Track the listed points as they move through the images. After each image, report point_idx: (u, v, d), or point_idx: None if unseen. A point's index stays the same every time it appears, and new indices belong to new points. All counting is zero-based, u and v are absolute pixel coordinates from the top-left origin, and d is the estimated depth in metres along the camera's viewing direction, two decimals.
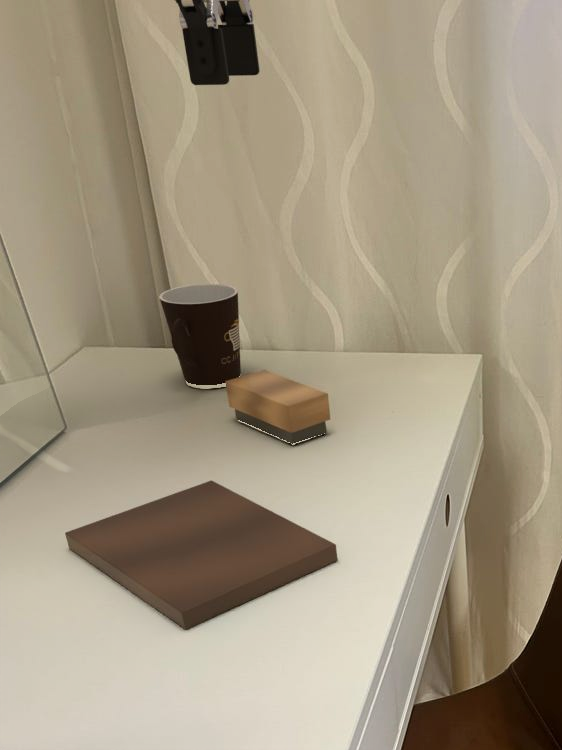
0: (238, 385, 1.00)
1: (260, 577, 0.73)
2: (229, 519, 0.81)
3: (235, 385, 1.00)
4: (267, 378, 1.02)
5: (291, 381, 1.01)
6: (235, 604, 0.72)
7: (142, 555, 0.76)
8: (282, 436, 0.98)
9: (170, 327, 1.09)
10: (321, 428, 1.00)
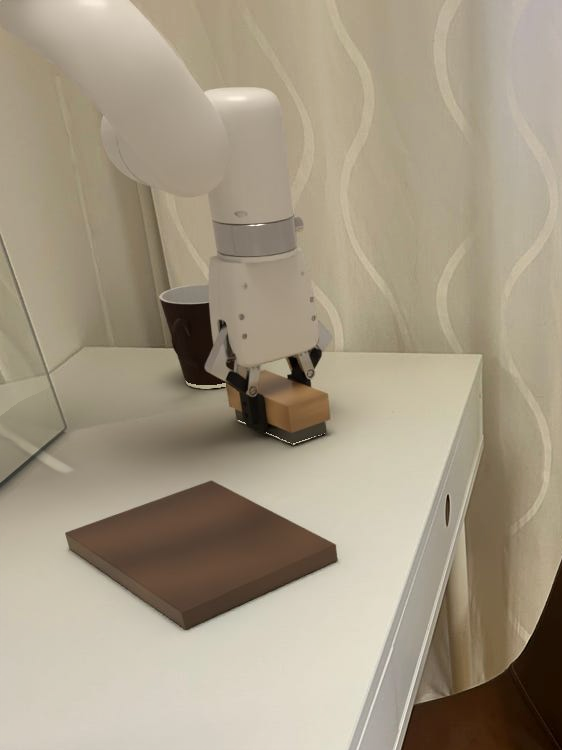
0: None
1: (260, 577, 0.73)
2: (229, 519, 0.81)
3: None
4: (267, 378, 1.02)
5: (291, 381, 1.01)
6: (235, 604, 0.72)
7: (142, 555, 0.76)
8: (282, 436, 0.98)
9: (170, 327, 1.09)
10: (321, 428, 1.00)
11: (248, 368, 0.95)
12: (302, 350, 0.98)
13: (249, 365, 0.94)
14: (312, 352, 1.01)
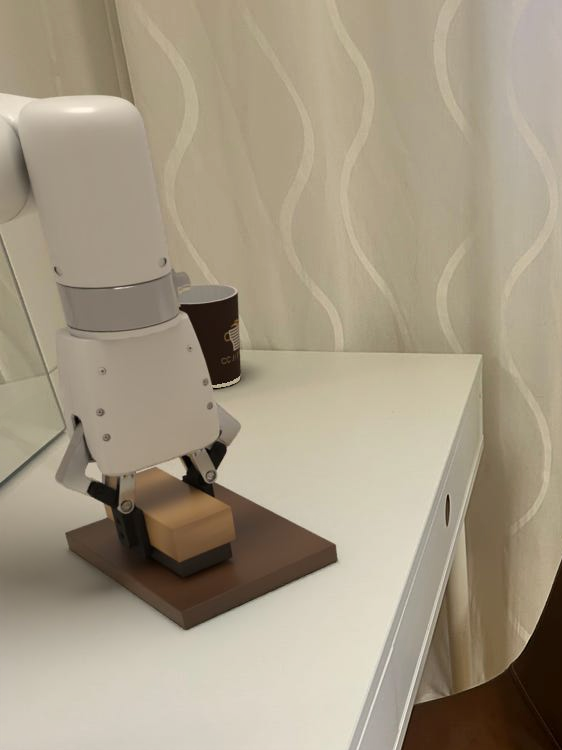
0: None
1: (260, 577, 0.73)
2: None
3: None
4: (155, 481, 0.77)
5: (186, 486, 0.76)
6: (235, 604, 0.72)
7: None
8: (170, 563, 0.73)
9: None
10: (224, 551, 0.74)
11: (118, 477, 0.70)
12: (196, 448, 0.73)
13: (117, 474, 0.69)
14: (212, 447, 0.75)
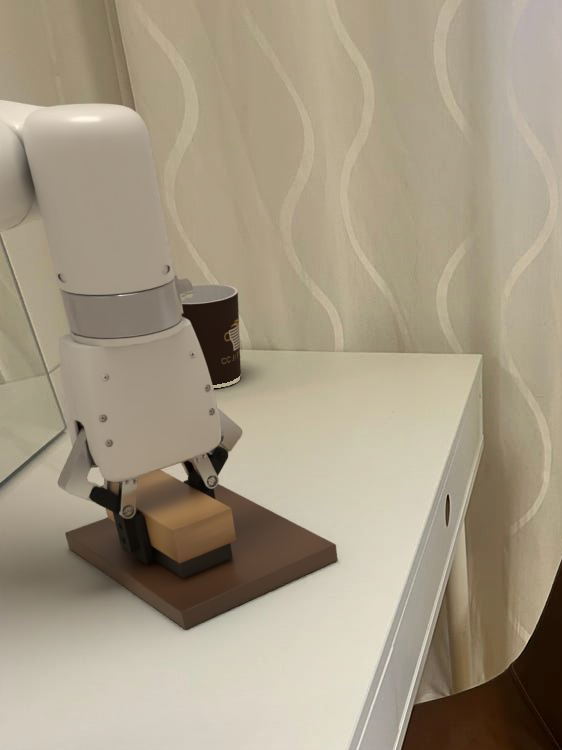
0: None
1: (260, 577, 0.73)
2: None
3: None
4: (156, 481, 0.77)
5: (187, 487, 0.76)
6: (235, 604, 0.72)
7: None
8: (170, 564, 0.73)
9: None
10: (224, 552, 0.74)
11: (120, 482, 0.70)
12: (197, 454, 0.73)
13: (120, 479, 0.69)
14: (214, 453, 0.76)
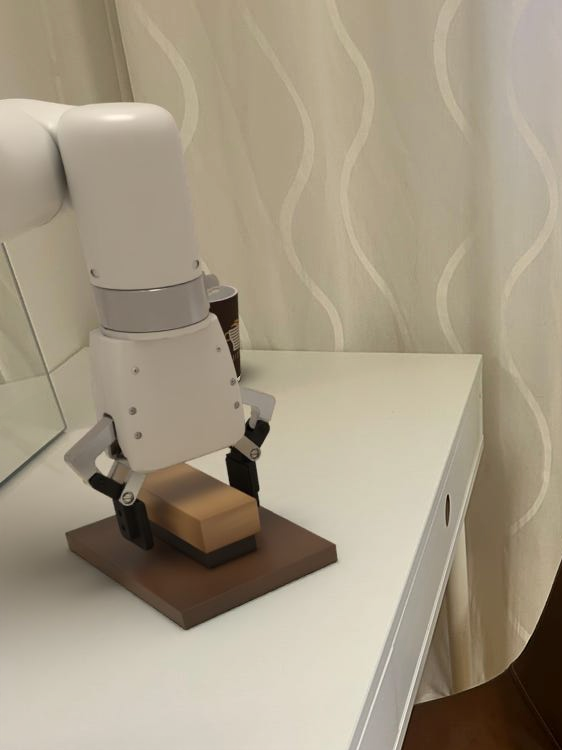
0: None
1: (260, 577, 0.73)
2: None
3: None
4: (180, 474, 0.78)
5: (211, 479, 0.77)
6: (235, 604, 0.72)
7: (142, 555, 0.76)
8: (196, 555, 0.75)
9: None
10: (249, 542, 0.76)
11: None
12: (222, 446, 0.74)
13: (147, 471, 0.71)
14: (256, 426, 0.78)
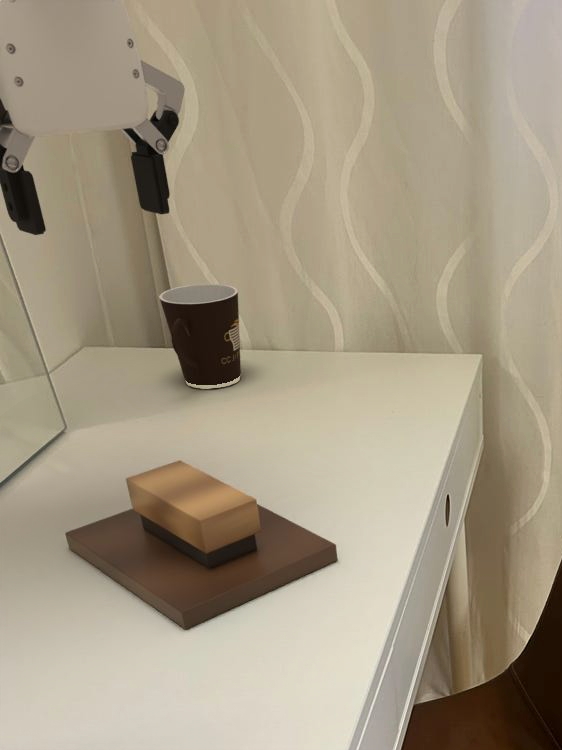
0: (141, 485, 0.76)
1: (260, 577, 0.73)
2: None
3: (137, 484, 0.77)
4: (180, 474, 0.78)
5: (211, 479, 0.77)
6: (235, 604, 0.72)
7: (142, 555, 0.76)
8: (196, 555, 0.75)
9: (170, 327, 1.09)
10: (249, 542, 0.76)
11: (15, 127, 0.64)
12: (121, 123, 0.68)
13: (33, 132, 0.64)
14: (163, 116, 0.71)
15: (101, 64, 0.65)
